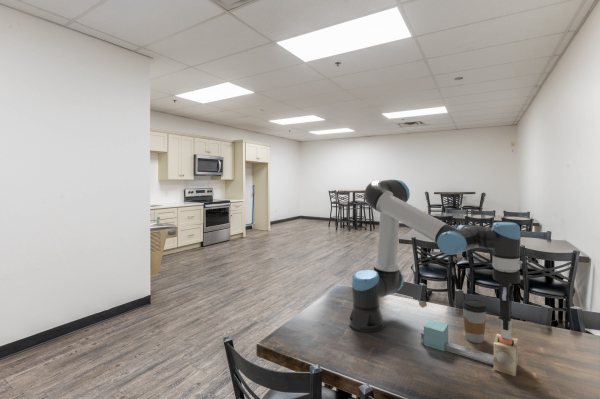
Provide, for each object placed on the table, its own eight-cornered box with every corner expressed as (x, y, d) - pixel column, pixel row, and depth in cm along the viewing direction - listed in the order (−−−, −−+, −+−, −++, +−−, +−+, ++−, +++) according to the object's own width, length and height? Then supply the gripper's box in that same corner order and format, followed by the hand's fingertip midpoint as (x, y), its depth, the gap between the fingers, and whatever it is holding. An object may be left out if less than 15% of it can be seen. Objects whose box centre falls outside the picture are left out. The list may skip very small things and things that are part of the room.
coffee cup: (490, 345, 114) (490, 307, 114) (466, 344, 116) (466, 306, 115) (481, 334, 123) (481, 298, 122) (459, 333, 124) (459, 298, 123)
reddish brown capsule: (498, 347, 101) (498, 338, 101) (500, 342, 104) (500, 334, 104) (511, 350, 99) (511, 342, 99) (512, 346, 102) (512, 337, 101)
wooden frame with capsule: (493, 370, 100) (493, 344, 100) (496, 358, 107) (496, 333, 106) (515, 377, 97) (515, 350, 96) (517, 364, 103) (517, 338, 102)
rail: (421, 342, 118) (421, 333, 118) (423, 339, 121) (423, 330, 120) (499, 367, 102) (499, 355, 101) (500, 363, 104) (500, 351, 104)
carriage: (424, 345, 116) (423, 326, 115) (429, 337, 121) (429, 319, 120) (443, 351, 111) (443, 331, 111) (448, 343, 116) (448, 324, 116)
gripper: (518, 276, 92) (518, 350, 94) (521, 265, 102) (521, 332, 104) (489, 272, 97) (490, 342, 98) (495, 262, 107) (495, 326, 108)
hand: (506, 337), depth 101 cm, fingers closed
